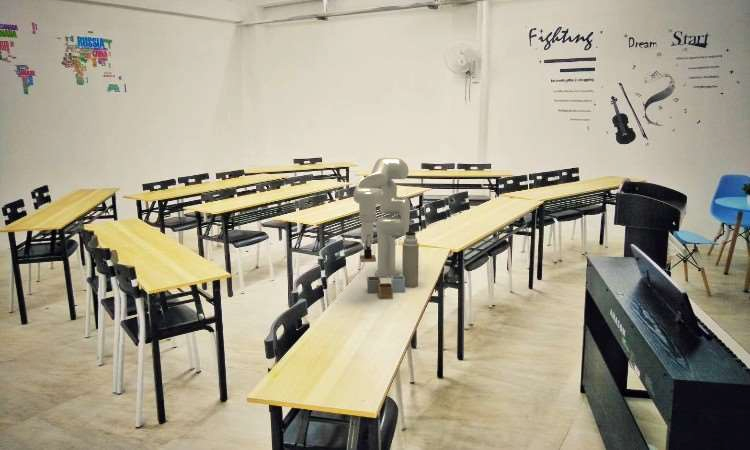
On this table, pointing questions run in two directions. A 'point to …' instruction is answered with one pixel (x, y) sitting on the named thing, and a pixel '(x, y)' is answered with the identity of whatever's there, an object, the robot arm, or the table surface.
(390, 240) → the robot arm
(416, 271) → the thermos bottle
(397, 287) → the square blue-grey bin
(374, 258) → the lid
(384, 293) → the oak box
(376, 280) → the grey open storage bin
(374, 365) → the table surface
